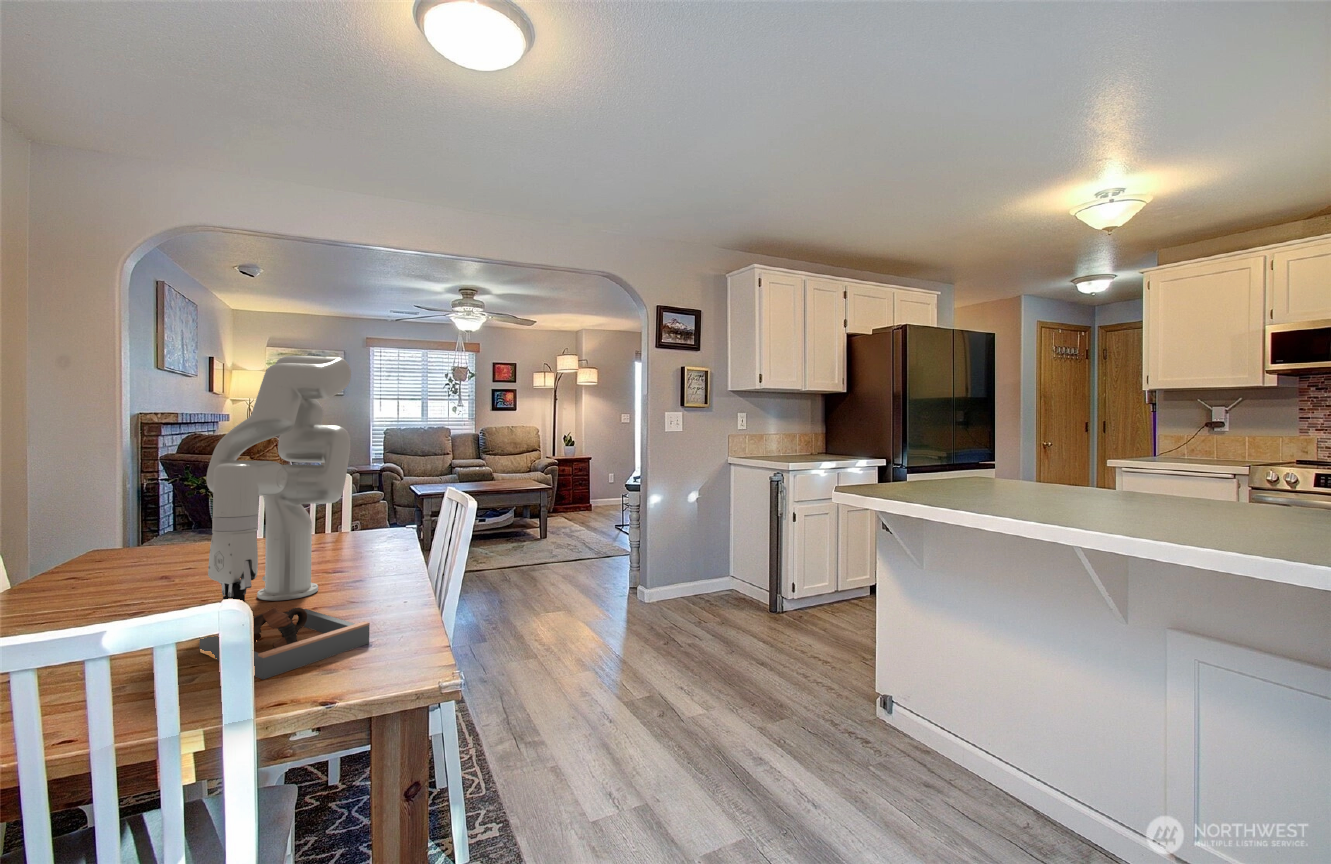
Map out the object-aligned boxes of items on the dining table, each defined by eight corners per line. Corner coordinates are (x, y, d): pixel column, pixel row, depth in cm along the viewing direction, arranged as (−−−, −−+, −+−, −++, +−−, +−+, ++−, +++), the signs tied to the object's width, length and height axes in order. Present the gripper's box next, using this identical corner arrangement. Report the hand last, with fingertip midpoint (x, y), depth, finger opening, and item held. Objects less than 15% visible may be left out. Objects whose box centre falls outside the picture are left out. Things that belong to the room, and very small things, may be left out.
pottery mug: (265, 663, 105) (241, 623, 105) (242, 675, 110) (219, 637, 109) (326, 626, 116) (304, 590, 115) (302, 638, 120) (281, 603, 120)
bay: (199, 652, 108) (199, 630, 108) (305, 622, 124) (305, 604, 124) (263, 679, 97) (263, 655, 97) (369, 643, 114) (369, 622, 114)
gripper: (195, 523, 120) (193, 613, 120) (233, 530, 113) (231, 626, 112) (237, 519, 126) (235, 604, 126) (275, 525, 119) (273, 616, 119)
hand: (233, 614), depth 119 cm, fingers closed
